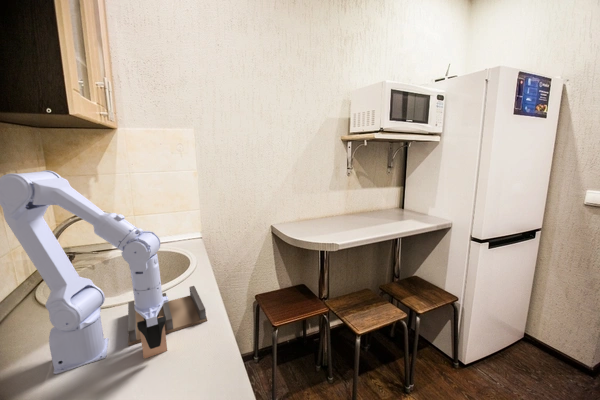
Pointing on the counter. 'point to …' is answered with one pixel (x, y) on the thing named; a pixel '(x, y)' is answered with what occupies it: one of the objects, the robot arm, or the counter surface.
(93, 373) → the counter surface
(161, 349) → the block
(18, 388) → the counter surface
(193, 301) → the rack
